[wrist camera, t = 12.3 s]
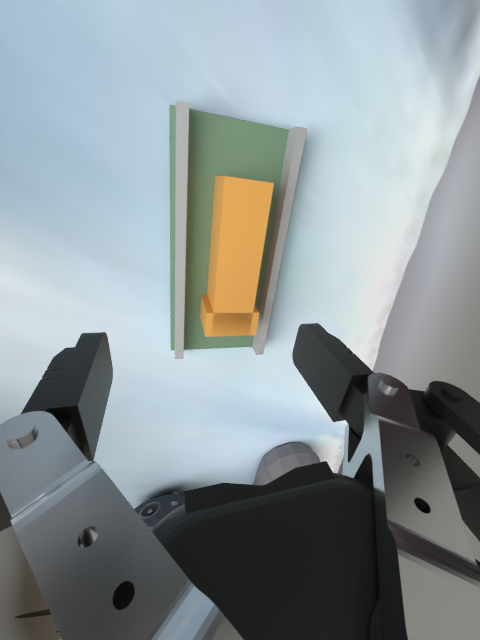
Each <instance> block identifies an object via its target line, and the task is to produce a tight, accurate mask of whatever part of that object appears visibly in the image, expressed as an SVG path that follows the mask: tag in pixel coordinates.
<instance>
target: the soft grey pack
mask: <svg viewBox="0 0 480 640" xmlns="http://www.w3.org/2000/svg"><path fill="white" fill-rule="evenodd" d="M315 463H320V460H319V457H318V456H317V455H316V454H315V453H314V452H313V451H312V450H311V448H310V447H308V446H306V445H304V444H302V443H288V444H285V445H282V446H279V447H277V448H274V449H273V450H272V451H270V452H269V453H268V454H266V455H265V456H264V457H263V458H262V461H261V463H260V466H259V468H258V471H257V474H256V478H255V483H254V485H266V484H268V483H270V482H271V481H273V480H275V479H277V478H278V477H280V476H282V475H284V474H285V473H287V472H289V471H291V470H292V469H294V468H296V467H301V466H306V465H311V464H315Z"/></svg>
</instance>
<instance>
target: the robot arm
mask: <svg viewBox="0 0 480 640" xmlns="http://www.w3.org/2000/svg"><path fill="white" fill-rule="evenodd" d="M293 362H294V364H295V366H296V368H297V369H298V371H299V372H300V373H301V375H302V376H303V378H304V379H305V381H306V382H307V384H308V385H309V387H310V388H311V390H312V391H313V393H314V394H315V396H316V397H317V398H318V400H319V401H320V403H321V404H322V406H323V407H324V409H325V410H326V412H327V413H328V415H329V416H330V418H331V419H332V421H333V422H336V421H342V420H346V421H347V423H348V424H347V426H346V429H345V444H344V463H343V473H342V474H337V473H333V472H332V470H331V469H330V467H329V465H328V463H327V461H325V462H320V463H315V464H311V465H306V466H301V467H296V468H294V469H292V470H291V471H289V472H287V473H285V474H284V475H282V476H280V477H278V478H277V479H275V480H273V481H271V482H270V483H268V484H266V485H247V484H231V483H221V484H216V485H212V486H207V487H202V488H197V489H193V490H188V491H184V505H182V506H180V507H178V508H177V509H175V510H173V511H172V512H171V513H169V514H168V515H166V516H165V517H164V518H163V519H162V520H161V521H159V522H158V523H157V524H156V525H155V526H154V527H153V529H152V530H150V529H149V528H148V526H147V525H146V524H145V523H144V521H143V520H142V519H141V517H140V516H139V515H138V514H137V512H136V511H135V510H134V509H133V507H132V506H131V505H130V503H129V502H128V501H127V500H126V498H125V497H124V496H123V494H122V493H121V492H120V491H119V489H118V488H117V487H116V486H115V484H114V483H113V482H112V480H111V479H110V478H109V477H108V475H107V474H106V473H105V472H104V470H103V469H102V468H101V467H100V465H99V464H98V463H96V462H95V461H93V460H94V456H95V451H96V447H97V443H98V439H99V434H100V430H101V426H102V422H103V417H104V413H105V409H106V405H107V401H108V396H109V392H110V388H111V384H112V377H113V368H112V361H111V355H110V349H109V344H108V338H107V334H106V333H105V332H102V333H83V334H81V336H80V338H79V340H78V342H77V344H76V346H75V347H74V348H65V349H64V350H62V351H61V352H60V353H59V354H57V355H56V356H55V357H54V358H53V359H52V361H51V363H50V364H49V366H48V368H47V370H46V371H45V373H44V375H43V377H42V380H40V382H39V383H38V385H37V387H36V389H35V390H34V392H33V394H32V396H31V397H30V399H29V401H28V403H27V404H26V406H25V408H24V409H23V411H22V413H21V415H18V416H15V417H13V418H11V419H9V420H7V421H5V422H4V423H2V424H1V425H0V531H2V530H4V529H6V528H8V527H10V526H13V528H14V531H15V533H16V536H17V538H18V540H19V542H20V545H21V547H22V549H23V551H24V553H25V556H26V558H27V560H28V563H29V565H30V567H31V569H32V571H33V574H34V576H35V578H36V581H37V583H38V585H39V587H40V590H41V592H42V594H43V597H44V599H45V601H46V603H47V606H48V608H49V610H50V612H51V615H52V617H53V619H54V621H55V624H56V626H57V628H58V630H59V633H60V635H61V637H62V639H63V640H480V562H479V561H478V560H476V559H475V558H474V555H473V552H472V549H471V546H470V543H469V540H468V537H467V533H466V530H465V527H464V524H463V521H464V522H465V524H466V525H467V526H468V528H469V529H470V530H471V531H472V533H473V534H474V535H475V536H476V537H477V539H478V540H479V541H480V478H479V477H478V476H477V475H476V474H475V473H474V472H473V470H472V469H471V468H470V467H468V465H467V464H466V463H465V462H464V461H463V460H462V459H461V458H460V457H459V456H458V455H457V454H456V453H455V452H454V451H453V450H452V449H451V448H450V447H449V446H448V444H449V442H450V441H451V440H452V438H453V437H454V436H455V434H456V433H457V434H458V435H459V436H461V437H462V438H463V439H464V440H465V441H466V442H467V443H468V444H469V445H470V446H471V447H472V448H473V449H474V450H475V451H477V453H478V454H480V403H479V402H478V401H476V400H475V399H474V398H473V397H471V396H470V395H469V394H467V393H466V392H465V391H463V390H462V389H460V388H458V387H456V386H454V385H451V384H448V383H445V382H441V381H434V382H431V383H430V384H429V386H428V387H427V389H426V391H425V392H424V391H417V390H410V389H408V387H407V386H406V385H405V384H404V383H402V382H401V381H400V380H398V379H396V378H394V377H392V376H390V375H387V374H383V373H374V372H373V371H372V370H371V369H370V368H369V367H368V366H366V365H365V364H364V363H363V362H362V361H361V360H360V359H359V358H358V357H357V356H356V355H355V354H353V352H352V351H351V350H350V349H349V348H347V347H346V345H345V344H344V343H342V342H341V341H340V340H339V339H338V338H336V337H334V336H333V335H331V334H329V333H328V332H327V331H326V330H325V329H324V328H323V327H322V326H321V325H319V324H318V323H313V324H301V325H300V326H299V329H298V333H297V337H296V341H295V345H294V349H293ZM89 461H93V462H91V463H90V462H89ZM462 520H463V521H462Z"/></svg>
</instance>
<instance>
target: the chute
mask: <svg viewBox="0 0 480 640" xmlns="http://www.w3.org/2000/svg"><path fill="white" fill-rule="evenodd" d="M273 186H274V183H271V182H264V181H257V180H250V179H243V178H236V177H229V176H215V183H214V198H213V213H212V228H211V244H210V259H209V274H208V289H207V295H201V305H200V319H201V323H202V327H203V330H204V334H205V337H216V336H248V335H256V330H257V324H258V318H259V311H258V310H257V308H256V307H255V306H254V305H255V298H256V292H257V286H258V280H259V273H260V267H261V261H262V255H263V248H264V242H265V236H266V230H267V223H268V217H269V211H270V205H271V198H272V192H273Z"/></svg>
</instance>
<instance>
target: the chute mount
mask: <svg viewBox="0 0 480 640" xmlns="http://www.w3.org/2000/svg"><path fill="white" fill-rule="evenodd" d="M306 133H307V129H306V128H301V127H296V128H293V129H290V130H287V129H282V128H277V127H273V126H268V125H263V124H258V123H253V122H249V121H244V120H239V119H234V118H230V117H225V116H220V115H215V114H211V113H206V112H201V111H196V110H192V109H189V103H186V102H181V101H177V102H176V106H173V105H170V284H171V350H175V359H183V352H184V350H187V349H210V348H232V347H253V349H254V351H255V353H256V355H258V354H263V352H264V347H265V342H266V337H267V332H268V327H269V322H270V317H271V312H272V307H273V301H274V296H275V291H276V286H277V281H278V276H279V271H280V266H281V261H282V255H283V250H284V245H285V240H286V235H287V230H288V225H289V220H290V215H291V210H292V204H293V199H294V194H295V189H296V184H297V179H298V174H299V169H300V164H301V158H302V153H303V148H304V143H305V138H306ZM215 176H229V177H236V178H243V179H250V180H257V181H264V182H271V183H274V186H273V192H272V198H271V205H270V211H269V217H268V223H267V230H266V236H265V242H264V248H263V255H262V261H261V267H260V273H259V280H258V286H257V292H256V298H255V305H254V306H255V307H256V308H257V310H258V311H259V318H258V324H257V330H256V335H248V336H216V337H205V334H204V330H203V327H202V323H201V319H200V305H201V295H207V289H208V274H209V259H210V244H211V228H212V213H213V198H214V183H215Z"/></svg>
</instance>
